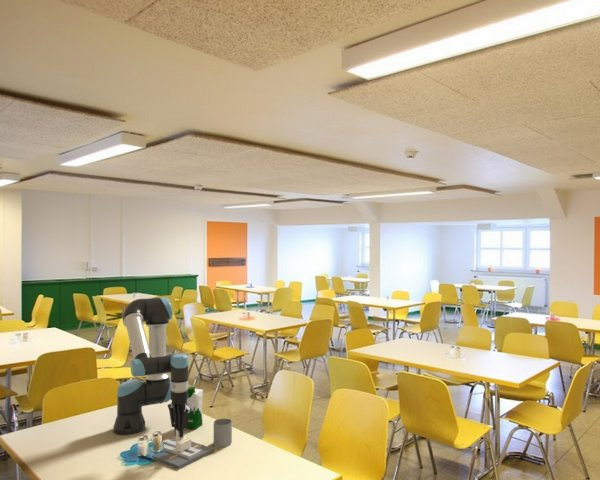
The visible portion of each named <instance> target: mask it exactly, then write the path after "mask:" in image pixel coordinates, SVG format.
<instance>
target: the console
mask: <svg viewBox="0 0 600 480" xmlns="http://www.w3.org/2000/svg"><path fill="white" fill-rule="evenodd" d="M162 441H163V443H164V447H163V448H164V449H165V450H166V451H165V452H163V453H159V454H158V453H157V454H154V455H153V456H152V457H153V459H154V460H153V461H155V462H157V463H161V464H163V465H166V466H168V467H171V468H174V469H177V470H181V469H184V468H185V467H186V466H189V465H190V464H193V463H194V462H197V461H199V460H200V459H203V458H205V457H206V456H209V455H210V454H212V453H214V452H215V451H214V450H215V449H214V448H213V447H210V446H208V445H204V444H201V443H199V442H195V441H192V440H191V447H190V448H188V449H186V451H182V452H179V451H176V436H175V437H173V438H170V439H168V438H167V439H164V440H162ZM165 444H166V445H165Z"/></svg>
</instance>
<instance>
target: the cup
mask: <svg viewBox="0 0 600 480" xmlns="http://www.w3.org/2000/svg"><path fill="white" fill-rule="evenodd" d="M232 440H233V420H232V419H230V418H218V419H215V420H214V421H213V446H214V447H217V448H226V446H227V447H229V446H231V445H232V444H233V441H232ZM231 443H232V444H231Z"/></svg>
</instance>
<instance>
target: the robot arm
mask: <svg viewBox="0 0 600 480" xmlns="http://www.w3.org/2000/svg"><path fill="white" fill-rule="evenodd" d="M173 315H174V314H173V308H172V303H171V301H170V299H169V298H167V297H149V298H137V299H134V300H132V301H131V302H129V304H128V305H127V306H126V307H125V309H124V310H123V313H122V323H123V324H122V325H123V326H124V327H125V328H126V330H127V334H128V336H127V337H128V340H129V344H130V347H131V348H130V349H131V352H132V356H133V359H132V360H131V362H130V373H131V375H132V377H134V378H136V377H137V378H139V377H145V381H143V380H141V379H130V380H127V381H123V382H122V383H121V384H119V385H118V386H117V392H116V393H117V394H116V398H117V400H116V406H117V407H116V409H117V410H116V418H115V421H114V424H113V428H112V432H113V433H114V434H117V435H123V436H125V435H133V434H138V433H139V432H142V431H144V430H145V429H146V420H145V418H144V415H143V407H146V406H152V405H159V404H160V405H161V404H163V403H164V404H165V403H168V402H169V401H171V402H170V403H169V404H167V408H168V412H169V413H168V414H169V418H170V423H171V424H170V425H171V427H172V428H174V436H175V437H176V442H178V441H180V440H182V439H184V433H185V432H184V430H186V428H187V426H188V421H189V415H190V412H191V410H192V409H191V408H189V407H188V406H187V399H188V387H189V362H190V361H189V356H188V354H184V353H176V354H175V353H168V354H167V329H166V328H167V326H168V325H169V323H170V320H171V319H173ZM143 322H145V326H146V327H148V338H147V334H146V332H145V328H144V324H143ZM169 373H170V375H169Z"/></svg>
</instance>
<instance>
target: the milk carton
mask: <svg viewBox="0 0 600 480" xmlns="http://www.w3.org/2000/svg"><path fill="white" fill-rule="evenodd" d="M203 393H204V389H202V388H201V389H199V388H195V387H193V386H188V399H187V406H188V407H189V408H191V409H192V410H191V412H190V415H189V421H188V426H187V428H186V429H187V430H192V431H196V430H197V429H199V428H200V427H201V426H202V425H203ZM186 429H185V430H186Z"/></svg>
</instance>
